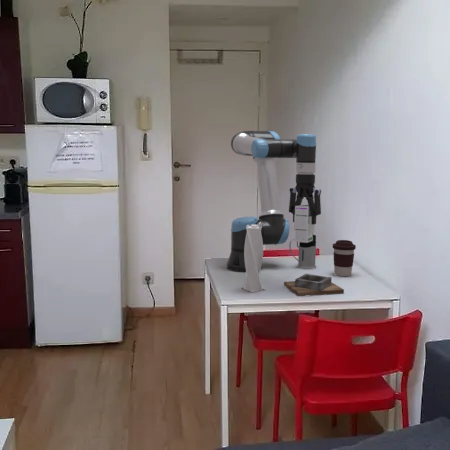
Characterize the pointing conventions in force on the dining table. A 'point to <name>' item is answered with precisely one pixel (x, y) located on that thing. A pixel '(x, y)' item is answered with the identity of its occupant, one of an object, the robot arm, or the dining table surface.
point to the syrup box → (302, 224)
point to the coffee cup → (343, 257)
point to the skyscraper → (253, 258)
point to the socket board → (313, 292)
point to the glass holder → (306, 254)
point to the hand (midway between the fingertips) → (304, 231)
